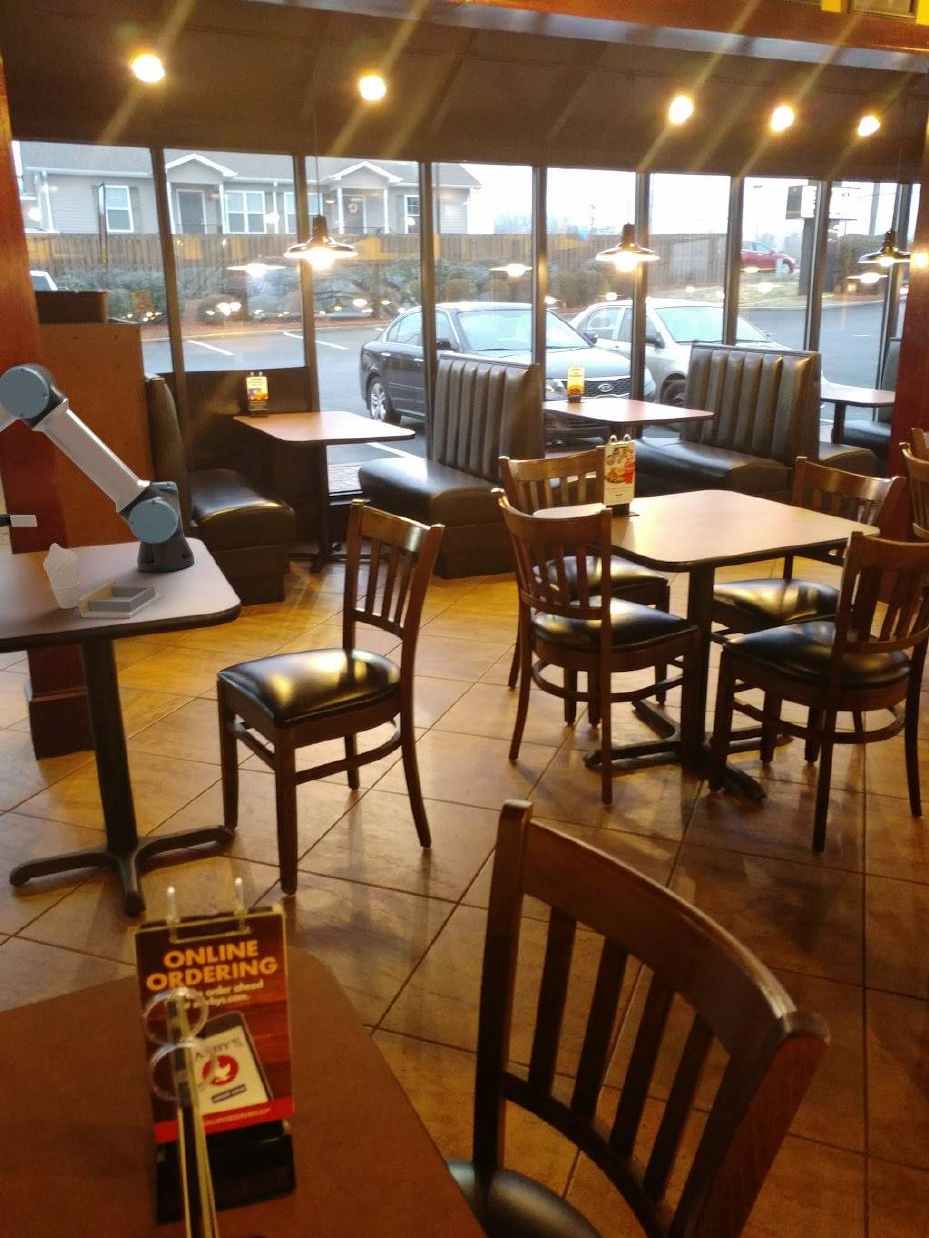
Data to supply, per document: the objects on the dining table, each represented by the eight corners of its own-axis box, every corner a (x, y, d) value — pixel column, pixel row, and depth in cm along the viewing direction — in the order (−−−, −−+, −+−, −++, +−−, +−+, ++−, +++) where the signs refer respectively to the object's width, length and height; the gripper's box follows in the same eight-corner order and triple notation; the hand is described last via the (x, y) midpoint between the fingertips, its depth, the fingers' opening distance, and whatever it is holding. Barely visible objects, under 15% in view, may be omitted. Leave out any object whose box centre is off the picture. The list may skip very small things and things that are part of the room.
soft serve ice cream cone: (89, 599, 254) (78, 537, 249) (84, 609, 246) (73, 545, 241) (54, 603, 252) (42, 540, 247) (48, 613, 245) (35, 548, 239)
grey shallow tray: (162, 596, 253) (159, 580, 251) (130, 617, 238) (127, 600, 236) (115, 596, 255) (112, 579, 254) (80, 617, 240) (77, 599, 239)
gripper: (-24, 529, 262) (51, 530, 257) (-91, 555, 239) (-11, 556, 234) (-29, 501, 259) (46, 501, 255) (-98, 524, 236) (-17, 524, 232)
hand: (19, 527), depth 245 cm, fingers open, 13 cm apart
